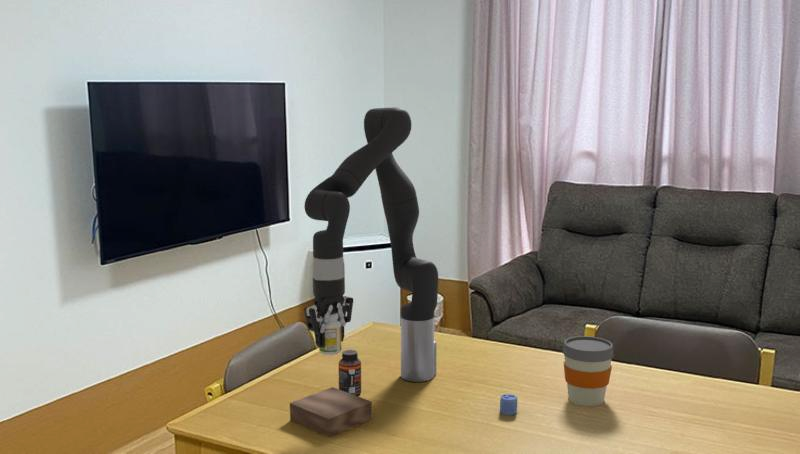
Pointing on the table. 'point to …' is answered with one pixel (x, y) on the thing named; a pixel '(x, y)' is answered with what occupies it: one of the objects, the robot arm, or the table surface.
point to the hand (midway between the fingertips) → (330, 343)
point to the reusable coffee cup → (587, 369)
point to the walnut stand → (330, 411)
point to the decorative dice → (508, 404)
